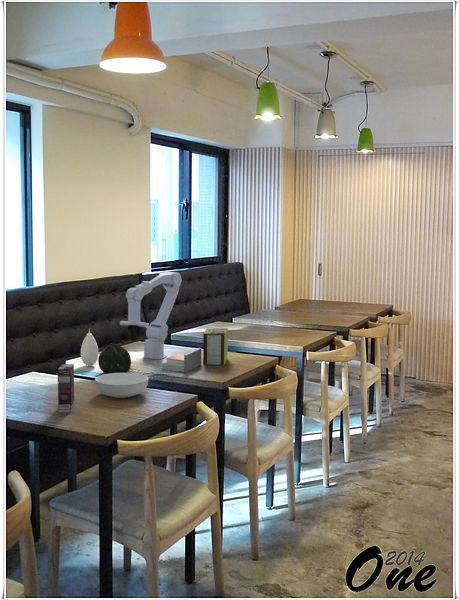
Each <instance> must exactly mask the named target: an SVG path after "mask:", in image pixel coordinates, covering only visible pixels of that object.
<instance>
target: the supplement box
mask: <svg viewBox="0 0 459 600" xmlns="http://www.w3.org/2000/svg"><path fill="white" fill-rule="evenodd" d="M74 370H75V369H74V363H62V364H60V366H59V367H58V368H57V397H58V398H57V403H58V404H57V405H58V409H57V410H58V413H71V412H72V411H73V409H74V407H75V403H76V402H75V371H74Z"/></svg>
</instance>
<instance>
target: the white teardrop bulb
mask: <svg viewBox="0 0 459 600" xmlns="http://www.w3.org/2000/svg"><path fill="white" fill-rule="evenodd" d="M80 357H81V361H82V363H83V364H84V365H85V366H87V367H88V368H89V367H92V366H94V365H95V364H96V363H97V362H98V358H99V348H98V344H97V341H96V339H95V337H94V335H93V334H92V333H91V329H90V328H89V329H88V333H86V336H85V337H84V339H83V341H82V343H81V348H80Z"/></svg>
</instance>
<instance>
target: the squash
mask: <svg viewBox="0 0 459 600" xmlns="http://www.w3.org/2000/svg"><path fill="white" fill-rule="evenodd" d="M97 363H98V366H99V369H100V371H102V372H103V375H105V374H111V373H129V371H130V369H131V366H132V359H131V355H130V352H129V351H128V350H127V349H125V348H124V347H122V345H119V344H117V343H113V342H111V343H109V344H108V345H107V346H106V347H105V348H104V349H103V350H102V351H101V352H100V353H99V354H98V359H97Z"/></svg>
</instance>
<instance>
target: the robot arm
mask: <svg viewBox="0 0 459 600" xmlns="http://www.w3.org/2000/svg"><path fill="white" fill-rule="evenodd" d="M181 284H182V276H181V274H180V272H178V271H177V272H173V271H162V272H160V273H159V274H158V275H157V276H155V277H154V278H152V279H150V281H147V280H143V281H141V283H140V284H138V285H135V287H130V288H128V289H127V291H126V293H125V298H126V299H127V303H128V307H127V309H128V310H127V311H128V312H127V313H128V314H127V320H121V321H119V326H127V327H126V330H128V332H129V335H130V339H131V342H137V339H138V335H139V333H140V330H141V329H142V328H146V330H145V335H146V337H147V338H148V339H145V340H144V345H143V357H142V358H144V359H151V360H152V359H153V360H162V359H164V358H166V357H167V358H168V355H165V354H164V352H165V349H164V348H165V347H164V346H165V345H164V344H165V340H166V339H167V337H168V330H169V327H168V324H167V322H168V319H169V317H170V314H171V312H172V309H173V307H174V305H175V302H176V299H177V296H178V294H179V292H180V291H179V290H180V286H181ZM159 285H162V286H163V288H164V289H165V290H166V294H165V295H164V298H163V300H162V303H161V305H160V308H159V311H158V313H157V315H156V318H155V319H154V320H153V321H151V322H150V323H149V322H143V321H141V301H142V300H143V298H144V296H146V295H148V294H149V293H151V292H152V291H153V289H154V288H155V287H157V286H159Z"/></svg>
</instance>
